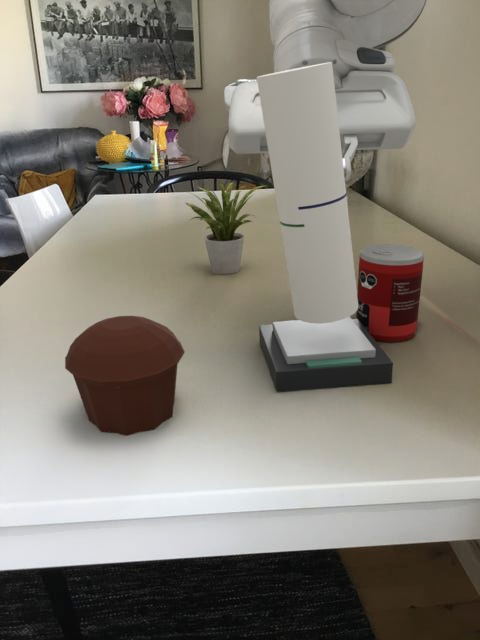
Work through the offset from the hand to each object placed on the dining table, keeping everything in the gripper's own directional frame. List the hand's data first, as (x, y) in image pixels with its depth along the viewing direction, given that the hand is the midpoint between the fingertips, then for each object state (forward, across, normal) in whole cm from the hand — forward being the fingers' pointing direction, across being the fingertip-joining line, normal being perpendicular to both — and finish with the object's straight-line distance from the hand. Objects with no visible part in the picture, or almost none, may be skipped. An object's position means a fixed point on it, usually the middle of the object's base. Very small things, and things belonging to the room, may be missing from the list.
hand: (326, 177), depth 59 cm
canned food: (+10, +10, +22) cm, 26 cm away
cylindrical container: (+11, 0, +9) cm, 15 cm away
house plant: (-13, -10, +44) cm, 47 cm away
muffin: (+22, -21, +9) cm, 32 cm away
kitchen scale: (+15, 0, +16) cm, 22 cm away
